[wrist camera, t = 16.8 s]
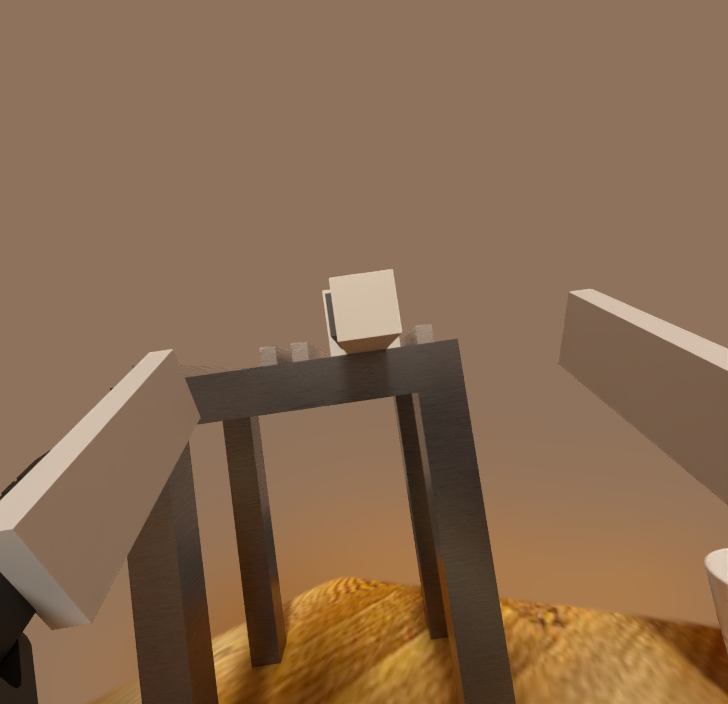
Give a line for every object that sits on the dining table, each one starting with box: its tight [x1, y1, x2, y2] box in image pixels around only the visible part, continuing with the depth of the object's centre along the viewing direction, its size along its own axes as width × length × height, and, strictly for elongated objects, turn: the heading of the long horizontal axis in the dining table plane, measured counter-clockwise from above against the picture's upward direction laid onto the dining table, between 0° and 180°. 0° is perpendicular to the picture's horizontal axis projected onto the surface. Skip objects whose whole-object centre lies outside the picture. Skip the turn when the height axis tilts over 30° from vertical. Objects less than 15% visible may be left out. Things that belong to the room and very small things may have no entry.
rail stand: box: [110, 324, 516, 704], centre depth 32 cm, size 20×22×31 cm
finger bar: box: [322, 269, 402, 357], centre depth 23 cm, size 19×5×5 cm, turn 1°
